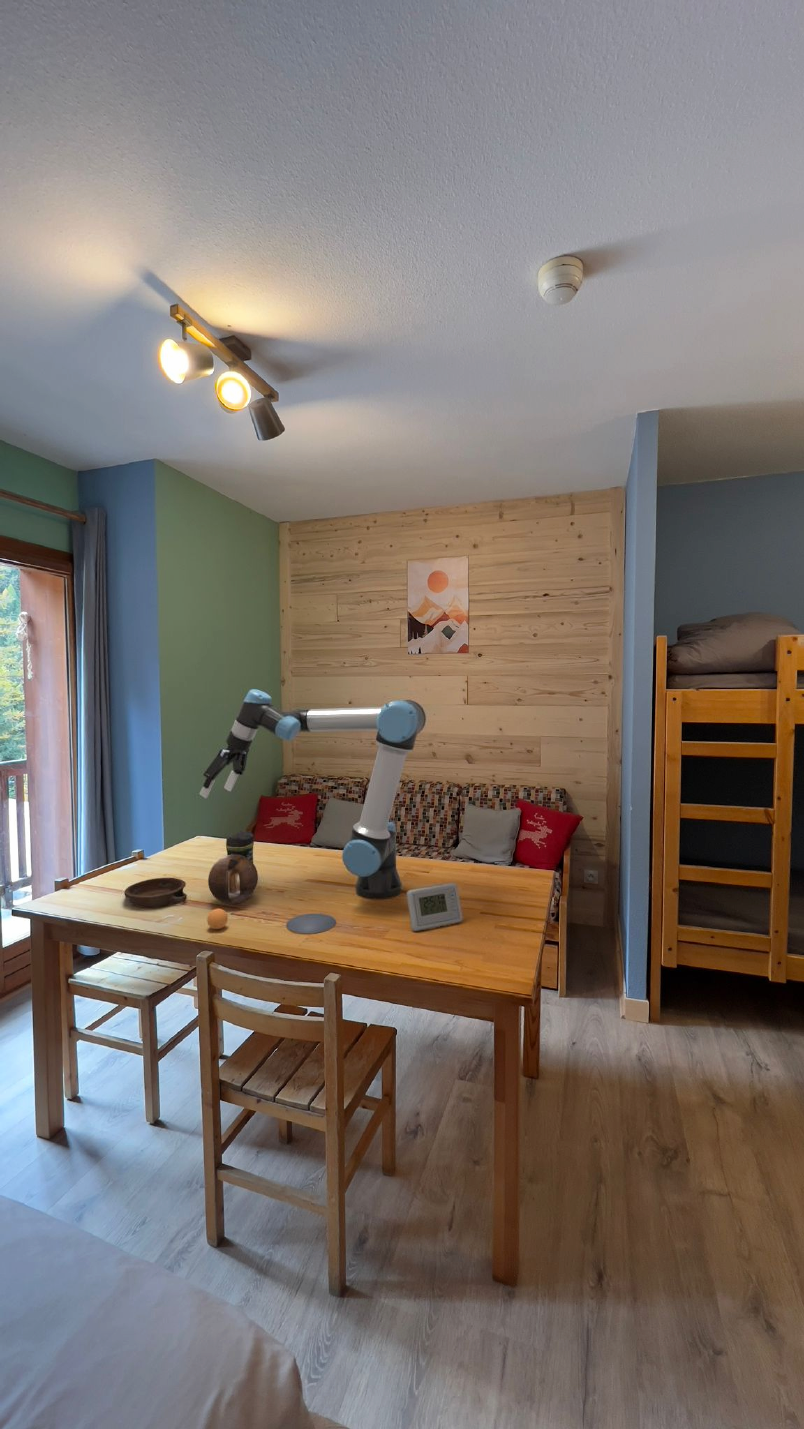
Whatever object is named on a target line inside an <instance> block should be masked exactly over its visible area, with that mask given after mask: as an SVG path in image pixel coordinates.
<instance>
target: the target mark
mask: <svg viewBox="0 0 804 1429" xmlns="http://www.w3.org/2000/svg"><path fill="white" fill-rule="evenodd" d="M336 922H337V921H336V919H335V918H334V917H333V916H331V915H328V914H325V913H305V914H299V915H297V916H294V917H292V918H291V919H289V920H288V921H287V922H286V925H285V927H286V929H287V930H289V931H290V932H291V931H292V932H291V933H294V934H300V935H314V934H320V933H323V932H324V933H325V932H327V931H329V930H331V929H332V928H334V927H335V926H336V924H337V923H336Z"/></svg>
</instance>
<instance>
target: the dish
mask: <svg viewBox="0 0 804 1429" xmlns="http://www.w3.org/2000/svg"><path fill="white" fill-rule="evenodd" d="M186 885H187V882H186V881H184V880H183V879H182V878H181V879H180V878H175V877H155V878H149V879H145V880H142V881H138V882H135V883H133V884H131V885H129V886H127V887H126V889H125V890H124V896H125V898H126V899H127V898H128V901H129V903H130V904H131V905H132V906H135V907H139V908H146V909H148V908H150V909H151V908H162V907H165V906H170V905H172V904H175V903H176V904H178V903H184V902H186V900H187V896H188V895H187V894H186V893H185V892H184V888H185V887H186Z"/></svg>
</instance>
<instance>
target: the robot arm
mask: <svg viewBox="0 0 804 1429" xmlns="http://www.w3.org/2000/svg"><path fill="white" fill-rule="evenodd" d="M271 703H272V696H270V695H269V694H268V693H266V692H264V691H262V690H261V689H260V690H259V689H255V688H254V689H253V688H251V689H250V690H248V692H247V694H246V697H245V698H244V700H243V703H242V705H241V707H240V710H239V712H238V715H237V716H236V718H235V720H234V723H233V724H232V727H231V729H230V730H231V731H230V732H229V734H228V736H227V738H226V740H225V742H226V744H227V748H226V749H224V748H220V749H219V751H218V754H217V755H216V757H214V759H213V760H212V762H211V763H210V764H209V766H208V767H207V768H206V770H205V771H204V773H203V775H202V776H203V777H205V779H204V782H203V784H202V787H201V789H200V792H199V795H200V796H201V797H203V798H204V799H207V798H208V797H209V795H210V792H211V791H212V789H213V786H214V783H215V782H216V780H215V779H216V778H217V777H218V776H219V774H221V772H222V771H223V770H224V769H225V768H226V767H227V766H229V765H230V764H232V766H233V767H232V768H233V769H232V770H231V771H230V773H229V775H228V776H227V779H226V782H225V784H224V786H223V788H224V789H225V790H227V791H228V792H232V791H233V789H234V787H235V784H236V782H237V780H238V777H239V775H241V776H242V775H243V774H244V771H246V766H247V760H248V755H249V752H250V747H251V745H252V743H253V740H254V739H255V736H256V734H257V732H258V730H259V728H260V727H261V728H263V729H264V730H266V731H268V732H269V733H271V734H274V735H275V736H277V737H278V738H280V739H281V740H284V741H286V742H290V741H292V740H293V739H295V738H296V737H297V735H298V733H311V732H354V731H355V732H356V731H357V732H358V731H360V732H361V731H363V732H365V731H369V732H370V731H377V733H376V737H375V742H376V744H377V746H378V750H377V753H376V758H375V761H374V765H373V768H372V773H371V776H370V780H369V783H368V784H369V785H368V788H367V792H366V795H365V799H364V803H363V807H362V811H361V814H360V815H361V816H360V817H359V818H360V819H359V820H358V822H356V823H354V824H353V826H352V830H351V834H350V837H349V841H348V842H347V843H346V845H345V846H344V848H343V850H342V855H341V857H342V862H343V865H344V867H345V868H346V869H347V871H348V872H349V873H351V874H352V875H354V876H356V877H357V880H356V883H355V893H356V894H357V896H360V897H362V898H365V899H371V900H382V899H384V900H385V899H388V898H393V897H396V896H399V895H400V894H401V893H402V892H403V891H402V890H403V888H402V887H403V886H402V880H401V877H400V875H399V872H398V869H397V828H396V824H395V823H394V822H391V821H390V818H391V814H392V811H393V806H394V802H395V800H396V797H397V796H396V795H397V792H398V788H399V785H400V780H401V776H402V773H403V768H404V765H405V761H406V757H407V755H408V754H409V753H410V752H412V751H413V750H414V747H415V744H416V740H417V736H418V735H419V734H420V733H421V731H423V730H424V728H425V726H426V722H427V715H426V712H425V710H424V708H423V707H422V705H421V704H419V703H418V702H416V701H414V700H411V699H404V700H400V699H399V700H394V701H391V702H389V703H384V705H382V706H368V707H367V706H365V707H364V706H363V707H343V708H342V707H339V708H337V707H336V708H311V709H305V708H296V709H292V710H281V709H279V708H277V707H275V706H274V705H272V704H271Z"/></svg>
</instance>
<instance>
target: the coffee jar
mask: <svg viewBox="0 0 804 1429" xmlns="http://www.w3.org/2000/svg"><path fill="white" fill-rule="evenodd" d="M254 839H255V838H254V834H253V833H252V832H251V831H246V830H245V831H241V830H240V831H239V832H237V833H234V834H232V835H230V836H227V837H226V842H225V847H226V848H225V849H226V854H227V855H226V856H228V855H234V854H236V855H242V856H244V857H246V858H248V859H249V860H251V861H252V863H253V864H254V845H255V844H254V843H255V841H254Z"/></svg>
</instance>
